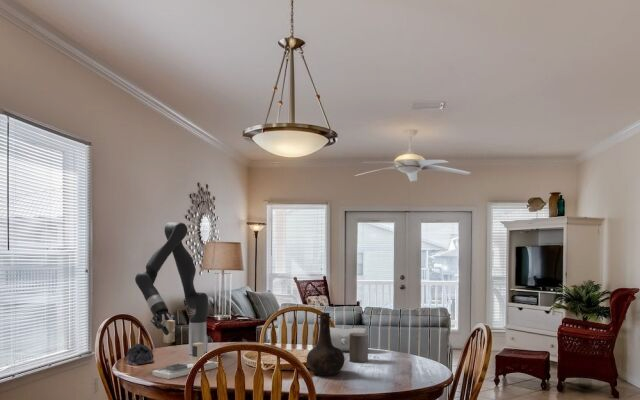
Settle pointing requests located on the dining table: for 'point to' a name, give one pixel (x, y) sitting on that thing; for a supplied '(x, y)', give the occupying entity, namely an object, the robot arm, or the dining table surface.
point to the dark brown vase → (325, 351)
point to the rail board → (185, 364)
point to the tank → (344, 337)
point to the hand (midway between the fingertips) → (172, 333)
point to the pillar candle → (358, 347)
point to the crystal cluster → (139, 355)
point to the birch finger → (171, 328)
